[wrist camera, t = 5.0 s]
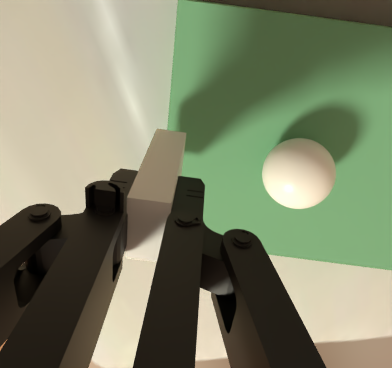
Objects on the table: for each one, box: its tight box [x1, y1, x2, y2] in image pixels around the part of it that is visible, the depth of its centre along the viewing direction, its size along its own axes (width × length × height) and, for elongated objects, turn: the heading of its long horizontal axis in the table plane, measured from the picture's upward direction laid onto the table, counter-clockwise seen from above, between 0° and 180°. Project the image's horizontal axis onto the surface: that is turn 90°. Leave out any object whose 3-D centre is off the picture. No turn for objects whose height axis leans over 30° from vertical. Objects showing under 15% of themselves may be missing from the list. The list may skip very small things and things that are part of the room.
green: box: [167, 0, 392, 270], centre depth 19 cm, size 24×14×5 cm, turn 83°
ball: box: [262, 138, 336, 209], centre depth 17 cm, size 4×4×4 cm
